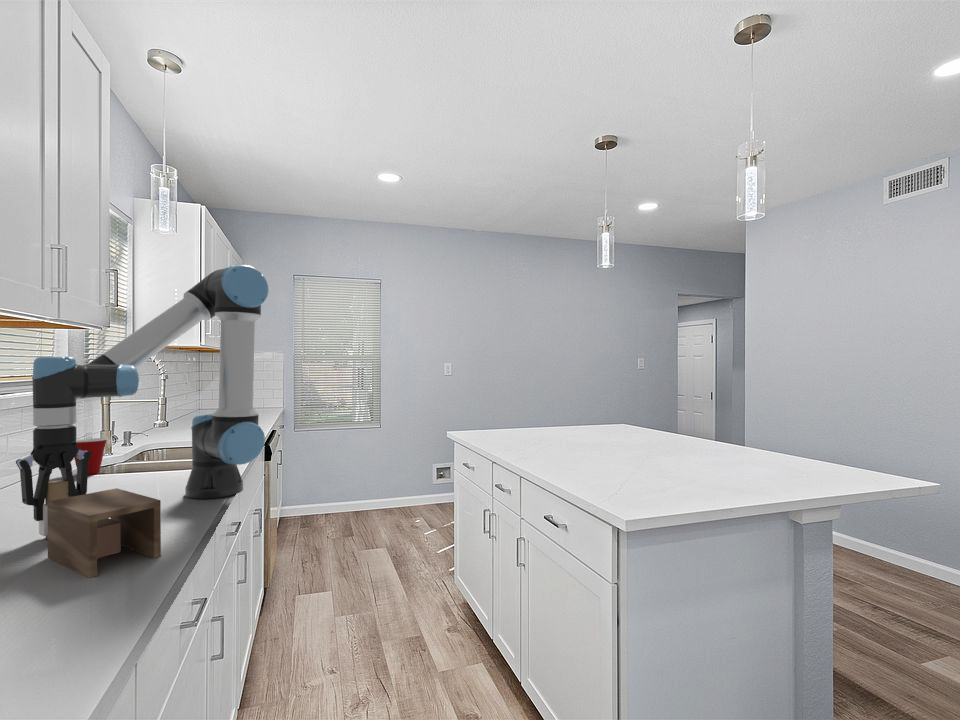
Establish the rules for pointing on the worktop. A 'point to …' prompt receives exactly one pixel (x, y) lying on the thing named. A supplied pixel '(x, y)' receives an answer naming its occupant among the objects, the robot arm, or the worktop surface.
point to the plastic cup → (95, 448)
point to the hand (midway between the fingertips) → (55, 531)
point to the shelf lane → (78, 526)
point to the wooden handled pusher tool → (105, 528)
